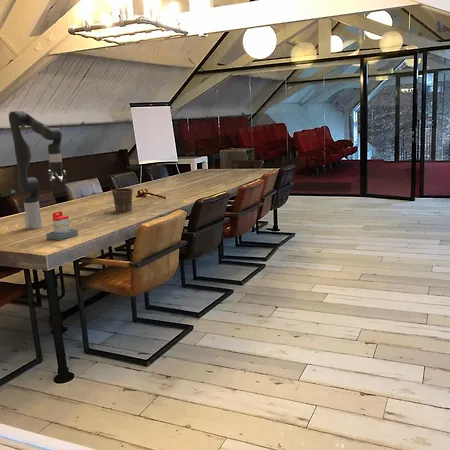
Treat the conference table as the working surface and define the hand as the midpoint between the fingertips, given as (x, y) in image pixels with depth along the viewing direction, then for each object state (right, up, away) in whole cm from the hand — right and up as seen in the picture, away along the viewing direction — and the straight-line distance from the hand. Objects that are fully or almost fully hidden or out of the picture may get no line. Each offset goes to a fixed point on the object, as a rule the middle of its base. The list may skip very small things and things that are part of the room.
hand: (58, 187), depth 303 cm
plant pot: (+26, -13, +71) cm, 77 cm away
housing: (+6, -31, -10) cm, 33 cm away
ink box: (+6, -30, -10) cm, 32 cm away
